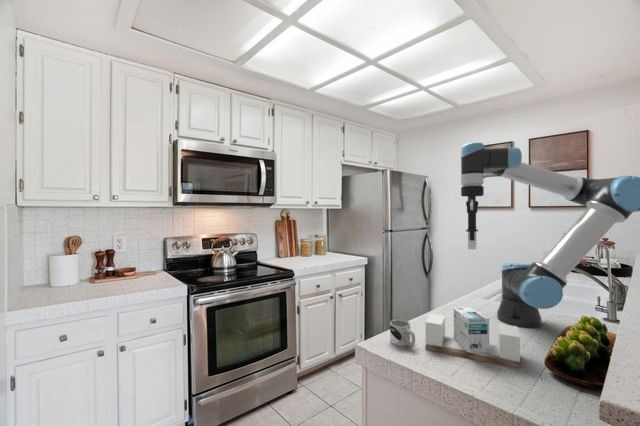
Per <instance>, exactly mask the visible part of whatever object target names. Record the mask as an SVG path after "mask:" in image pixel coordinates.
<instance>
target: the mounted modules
mask: <svg viewBox="0 0 640 426" xmlns="http://www.w3.org/2000/svg"><path fill="white" fill-rule="evenodd" d="M518 327H519V326H515V325H511V324H505V323H504V324H503V323H498V346H499V354H500V358H505V359H510V360H515V361H520V362H521V336H520V332H519V328H518ZM445 337H446V316H445V315H443V314H437V313H436V314H435V313H429V315H428V317H427V318H426V321H425V345H426V344H432V345H437V346H442V345H443V341H444V338H445Z"/></svg>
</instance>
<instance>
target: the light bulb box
mask: <svg viewBox="0 0 640 426" xmlns="http://www.w3.org/2000/svg"><path fill="white" fill-rule="evenodd" d="M453 338H454V339H455V340H456V341H457V342H458V343H459V344H460V345H461V346H462V347H463V348H464V349H465V350H466V351H467V352H468V353H489V344H490V318H489V317H487V316H486V315H484V314H483V313H481V312H479V311H478V310H476V309H475V308H473V307H472V306H471V307H453Z"/></svg>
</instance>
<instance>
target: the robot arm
mask: <svg viewBox="0 0 640 426" xmlns="http://www.w3.org/2000/svg"><path fill="white" fill-rule="evenodd" d="M460 152H461V153H460V161H461V162H460V167H461V169H460V172H461V173H460V184H461V188H460V190H461V191H460V194H461V195H460V196H461V197H468V200H467V201H465V203H466V204H465V205H466V213H467V229H466V230H465V231H466V232H467V249H468V250H477V232H479V229H477V213H478V206H479V201H477V198H476V197H483V196H484V193H485V190H484V187H485V186H483V185H484V179H486V176H485V175H484V174H491V175H495V176H499V177H501V178H505V179H508V180H512V181H515V182H518V183H520V184H524V185H528V186H530V187H534V188H538V189H539V190H542V191H543V190H544V191H547V192H550V193H552V194H556V195H560V196H562V197H564V199H565V200H566V201H570V202H572V203H575V204H578V205H581V206H584V207H586V210H585V211H584V212H583V213H582V214H581V216H579V218H578V219H577V220H576V221H575V222H574V223H573V225H572V226H571V227H570V228H569V229H568V230H567V231H566V233H564V234H563V236H561V238H560V239H559V240H558V241H557V242H556V243H555V245H554V246H552V248H551V249H550V250H549V252H547V254H546V255H545V256H544V257H543V258H542V259H541V260H540V261H533V262H532V263H517V262H515V263H509V262H508V263H506V262H505V263H503V264H502V266H501V267H502V268H501V301H500V304H499V306H498V309H497V311H496V317H497V319H498V320H499V321H501V322H502V323H504V324H507V325H511V326H517V327H522V328H537V327H538V328H539V327H540V326H541V325H542V316H541V313H540V311H539V309H540V310H547V309H551V308H554V307H556V306H557V305H558V304H560V303H561V301H562V299H563V296H564V293H563V292H564V290H563V289H564V288H565V287H566V286H567V284H568V282H567V281H568V280H567V276H568V275H569V274H570V273H571V272H572V271H573V270H574V269H575V268H576V267H577V266H578V265H579V263H580V262H581V261H583V259H584V258H585V257H586V255H587V254H589V252H590V251H591V250H592V249H593V248H594V247H595V246H596V245H597V244H598V242H599V241H601V240H602V238H603V237H604V236H605V235H606V234H607V233H608V232H609V231H610V229H612V227H613V226H614V225H615V224H616V223H618V224H619V223H624V222H625V221H627V219H628V218H629V217H630V216H631V215H632V214H633V213H637V212H640V177H639V176H635V175H621V176H617V177H607V178H600V179H599V178H598V179H597V178H586V177H582V176H579V175H578V176H576V177H573V176H570V175H566V174H564V173H563V174H562V173H560V172H556V171H552V170H549V169H546V168H542V167H539V166H535V165H532V164H529V163H525V162H522V159H523V155H522V154H523V153H522V150H521V149H520V148H519V147H509V146H508V147H497V148H485V145H484V143H483V142H470V143H469V142H468V143H466V144H464V145H462V146H461V151H460Z"/></svg>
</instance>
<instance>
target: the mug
mask: <svg viewBox="0 0 640 426" xmlns="http://www.w3.org/2000/svg"><path fill="white" fill-rule="evenodd" d="M389 328H390V329H389V330H390V331H389V337H390V338H389V342H390V344H391V345H392V346H395V347H400V348H406V347H408V346H409V347H415V345H416V334H415V332H413V331H412V329H411V323H410V322H409V321H408V320H404V319H394V320H393V319H392V320H391V321H390V322H389Z"/></svg>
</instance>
